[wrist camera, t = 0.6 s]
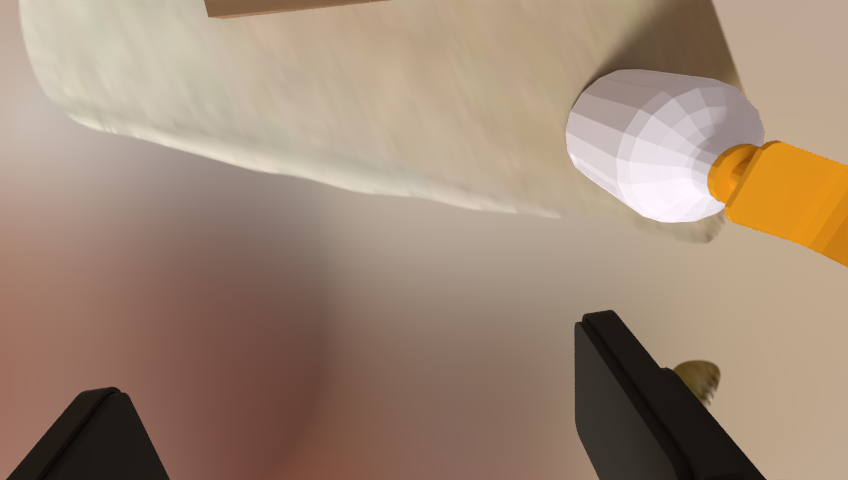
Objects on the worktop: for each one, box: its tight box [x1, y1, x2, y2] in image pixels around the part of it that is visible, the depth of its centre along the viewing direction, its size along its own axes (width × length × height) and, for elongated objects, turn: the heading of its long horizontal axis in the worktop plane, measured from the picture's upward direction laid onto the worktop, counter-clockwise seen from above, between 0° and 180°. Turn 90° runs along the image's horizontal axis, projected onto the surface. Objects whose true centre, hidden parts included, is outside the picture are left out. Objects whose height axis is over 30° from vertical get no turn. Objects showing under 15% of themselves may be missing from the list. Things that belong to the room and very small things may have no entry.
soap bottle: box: [566, 69, 848, 267], centre depth 28 cm, size 9×9×25 cm
